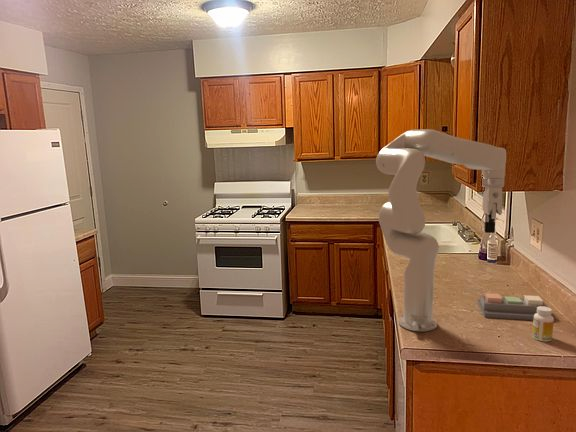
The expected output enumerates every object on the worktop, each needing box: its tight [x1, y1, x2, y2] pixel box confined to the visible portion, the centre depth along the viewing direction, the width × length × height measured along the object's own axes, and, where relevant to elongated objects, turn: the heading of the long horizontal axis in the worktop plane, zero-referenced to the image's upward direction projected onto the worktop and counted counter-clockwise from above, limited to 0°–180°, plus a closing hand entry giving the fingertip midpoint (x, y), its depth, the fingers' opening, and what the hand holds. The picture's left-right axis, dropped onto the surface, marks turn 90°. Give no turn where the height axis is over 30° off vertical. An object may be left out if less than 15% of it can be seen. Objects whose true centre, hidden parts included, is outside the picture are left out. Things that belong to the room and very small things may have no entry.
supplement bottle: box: [531, 306, 555, 343], centre depth 136 cm, size 5×5×10 cm
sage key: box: [504, 295, 522, 304], centre depth 156 cm, size 5×5×3 cm
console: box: [476, 295, 549, 321], centre depth 156 cm, size 13×21×4 cm, turn 77°
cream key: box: [523, 294, 544, 306], centre depth 154 cm, size 5×5×3 cm
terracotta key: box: [484, 292, 502, 303], centre depth 157 cm, size 5×5×3 cm
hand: (489, 232), depth 161 cm, fingers closed
